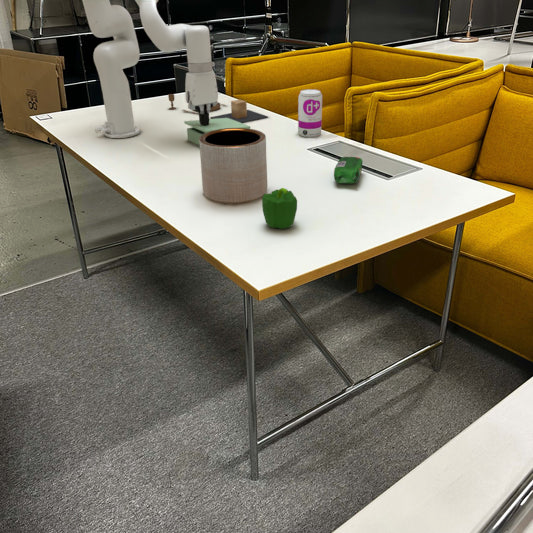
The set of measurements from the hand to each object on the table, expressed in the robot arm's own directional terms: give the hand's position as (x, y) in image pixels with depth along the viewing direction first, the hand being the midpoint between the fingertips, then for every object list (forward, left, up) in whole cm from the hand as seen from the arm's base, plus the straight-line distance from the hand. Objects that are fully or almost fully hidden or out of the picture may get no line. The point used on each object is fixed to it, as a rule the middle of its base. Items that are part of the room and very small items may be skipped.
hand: (204, 124), depth 187 cm
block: (+28, +22, -7) cm, 37 cm away
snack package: (+15, -54, -7) cm, 56 cm away
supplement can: (+35, -13, -7) cm, 38 cm away
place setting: (+24, +47, -7) cm, 54 cm away
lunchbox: (+5, 0, -7) cm, 9 cm away
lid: (+5, 0, -1) cm, 5 cm away
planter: (-16, -42, -7) cm, 45 cm away
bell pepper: (-19, -66, -7) cm, 69 cm away
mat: (+28, +22, -7) cm, 37 cm away
